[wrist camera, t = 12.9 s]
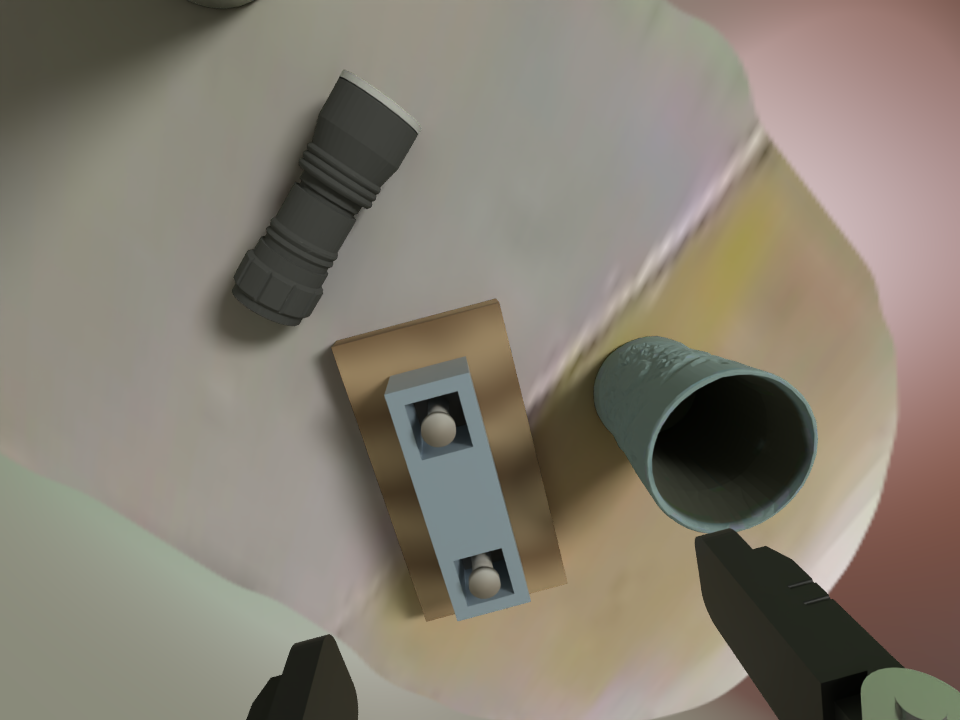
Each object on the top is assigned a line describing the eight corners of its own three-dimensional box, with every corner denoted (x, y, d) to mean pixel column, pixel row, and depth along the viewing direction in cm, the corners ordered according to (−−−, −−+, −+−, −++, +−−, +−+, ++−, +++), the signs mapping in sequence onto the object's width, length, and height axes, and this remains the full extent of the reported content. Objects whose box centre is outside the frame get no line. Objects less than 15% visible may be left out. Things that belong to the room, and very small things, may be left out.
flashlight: (311, 324, 37) (290, 341, 32) (241, 284, 36) (208, 295, 30) (423, 134, 34) (420, 118, 29) (351, 83, 33) (335, 58, 28)
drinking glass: (581, 335, 38) (642, 384, 27) (711, 316, 39) (826, 357, 27) (590, 456, 41) (649, 548, 30) (711, 437, 42) (816, 521, 30)
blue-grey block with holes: (390, 376, 36) (384, 394, 32) (465, 356, 36) (469, 372, 32) (455, 583, 41) (457, 621, 37) (522, 565, 41) (530, 601, 37)
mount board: (336, 340, 37) (313, 367, 30) (496, 298, 37) (508, 315, 30) (426, 603, 44) (424, 673, 37) (562, 567, 44) (584, 630, 37)
